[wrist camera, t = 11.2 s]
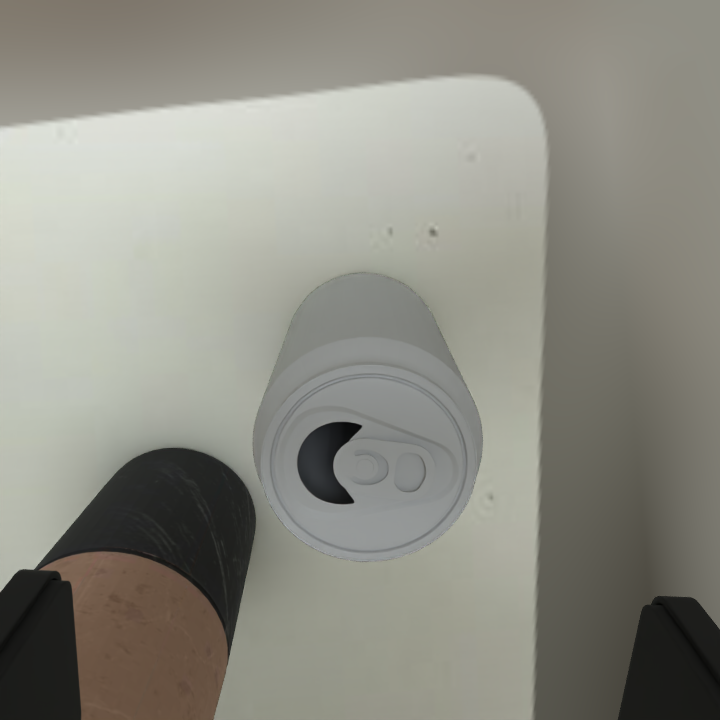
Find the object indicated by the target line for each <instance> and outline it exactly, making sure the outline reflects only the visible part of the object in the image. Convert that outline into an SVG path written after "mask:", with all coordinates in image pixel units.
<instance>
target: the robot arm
mask: <svg viewBox="0 0 720 720" xmlns="http://www.w3.org/2000/svg"><path fill="white" fill-rule="evenodd" d="M0 720H81V700H80V687H79V674H78V661H77V647H76V634H75V621H74V608H73V595H72V586H71V583H70V582H69V581H63V580H62V579H61V575H60V573H59V572H58V571H50V570H26V569H22V570H19V571H18V572H17V573H16V574H15V575H14V576H13V577H12V579H11V580H10V581H9V582H8V584H7V585H6V586H5V587H4V589H3V590H2V591H1V592H0ZM618 720H720V629H719V628H718V627H717V625H716V624H715V623H714V622H713V620H712V619H711V618H710V617H709V615H708V614H707V613H706V612H705V610H704V609H703V608H702V606H701V605H700V604H699V603H698V602H697V601H696V600H695V599H693V598H691V597H668V596H658V597H655V598H654V600H653V601H652V604H651V605H645V606H644V607H643V609H642V612H641V615H640V620H639V625H638V630H637V634H636V638H635V643H634V648H633V652H632V657H631V662H630V666H629V671H628V675H627V680H626V685H625V689H624V694H623V699H622V703H621V708H620V712H619V717H618Z"/></svg>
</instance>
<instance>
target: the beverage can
mask: <svg viewBox="0 0 720 720" xmlns="http://www.w3.org/2000/svg"><path fill="white" fill-rule="evenodd" d="M482 446H483V435H482V427H481V421H480V417H479V414H478V411H477V408H476V405H475V403H474V400H473V398H472V396H471V394H470V392H469V390H468V388H467V386H466V384H465V382H464V380H463V378H462V375H461V373H460V371H459V369H458V367H457V365H456V363H455V361H454V359H453V357H452V355H451V353H450V351H449V348H448V346H447V344H446V342H445V340H444V338H443V336H442V334H441V332H440V330H439V328H438V326H437V323H436V321H435V319H434V317H433V315H432V313H431V311H430V310H429V308H428V306H427V305H426V304H425V302H424V301H423V300H422V299H421V298H420V297H419V296H418V295H417V294H416V293H415V292H414V291H413V290H412V289H410V288H409V287H407V286H406V285H404V284H403V283H401V282H399V281H397V280H395V279H392V278H390V277H387V276H383V275H379V274H373V273H354V274H348V275H343V276H340V277H337V278H334V279H332V280H330V281H328V282H326V283H324V284H322V285H321V286H319V287H318V288H316V289H315V290H314V291H313V292H312V293H310V294H309V295H308V296H307V297H306V299H305V300H304V301H303V303H302V304H301V305H300V307H299V308H298V310H297V311H296V313H295V314H294V316H293V319H292V321H291V324H290V327H289V329H288V332H287V335H286V337H285V340H284V343H283V346H282V348H281V351H280V354H279V356H278V359H277V362H276V364H275V367H274V370H273V372H272V375H271V378H270V380H269V383H268V386H267V389H266V391H265V394H264V397H263V399H262V402H261V405H260V407H259V410H258V413H257V416H256V420H255V425H254V431H253V455H254V461H255V466H256V470H257V473H258V476H259V479H260V481H261V483H262V485H263V488H264V492H265V495H266V497H267V499H268V502H269V504H270V506H271V508H272V509H273V511H274V513H275V514H276V516H277V517H278V518H279V520H280V521H281V522H282V524H283V525H284V526H285V527H286V528H287V529H288V530H289V531H290V532H291V533H292V534H293V535H294V536H296V537H297V538H298V539H300V540H301V541H302V542H304V543H305V544H307V545H308V546H310V547H312V548H314V549H316V550H318V551H320V552H322V553H324V554H327V555H330V556H333V557H336V558H340V559H345V560H351V561H359V562H372V561H384V560H390V559H395V558H399V557H402V556H405V555H408V554H411V553H413V552H416V551H418V550H420V549H422V548H424V547H426V546H427V545H429V544H431V543H432V542H434V541H435V540H436V539H438V538H439V537H440V536H442V535H443V534H444V533H445V532H446V531H447V530H448V529H449V528H450V527H451V526H452V525H453V524H454V523H455V521H456V520H457V519H458V517H459V516H460V515H461V513H462V512H463V510H464V509H465V507H466V505H467V503H468V501H469V499H470V496H471V494H472V491H473V487H474V484H475V479H476V476H477V473H478V470H479V466H480V462H481V457H482Z"/></svg>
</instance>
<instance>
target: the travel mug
mask: <svg viewBox="0 0 720 720" xmlns="http://www.w3.org/2000/svg"><path fill="white" fill-rule="evenodd" d="M254 533H255V510H254V506H253V503H252V499H251V497H250V494H249V492H248V490H247V488H246V487H245V485H244V484H243V482H242V481H241V480H240V478H239V477H238V476H237V475H236V474H235V473H234V472H233V471H232V470H231V469H230V468H229V467H227V466H226V465H225V464H223V463H222V462H220V461H219V460H217V459H215V458H213V457H211V456H209V455H206V454H204V453H201V452H198V451H194V450H189V449H181V448H167V449H160V450H154V451H151V452H148V453H145V454H143V455H140V456H138V457H136V458H134V459H133V460H131V461H130V462H128V463H127V464H125V465H124V466H123V467H122V468H121V469H120V470H119V471H118V472H117V473H116V474H115V475H114V476H113V477H112V478H111V479H110V480H109V482H108V483H107V484H106V485H105V486H104V487H103V489H102V490H101V491H100V492H99V493H98V494H97V496H96V497H95V498H94V499H93V500H92V502H91V503H90V504H89V505H88V506H87V508H86V509H85V510H84V511H83V512H82V513H81V515H80V516H79V517H78V518H77V519H76V521H75V522H74V523H73V524H72V525H71V527H70V528H69V529H68V530H67V531H66V532H65V534H64V535H63V536H62V537H61V538H60V540H59V541H58V542H57V543H56V544H55V545H54V547H53V548H52V549H51V550H50V551H49V553H48V554H47V555H46V556H45V557H44V559H43V560H42V561H41V562H40V563H39V564H38V566H37V567H36V568H35V569H34V570H50V571H58V572H59V573H60V575H61V579H62V580H63V581H69V582H70V583H71V586H72V595H73V608H74V621H75V634H76V647H77V661H78V674H79V687H80V700H81V720H213V719H214V715H215V711H216V707H217V704H218V700H219V696H220V692H221V689H222V685H223V681H224V677H225V674H226V668H227V665H228V660H229V655H230V651H231V646H232V641H233V636H234V632H235V627H236V622H237V617H238V613H239V608H240V603H241V598H242V593H243V589H244V584H245V579H246V574H247V570H248V565H249V560H250V555H251V550H252V545H253V539H254Z"/></svg>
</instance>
